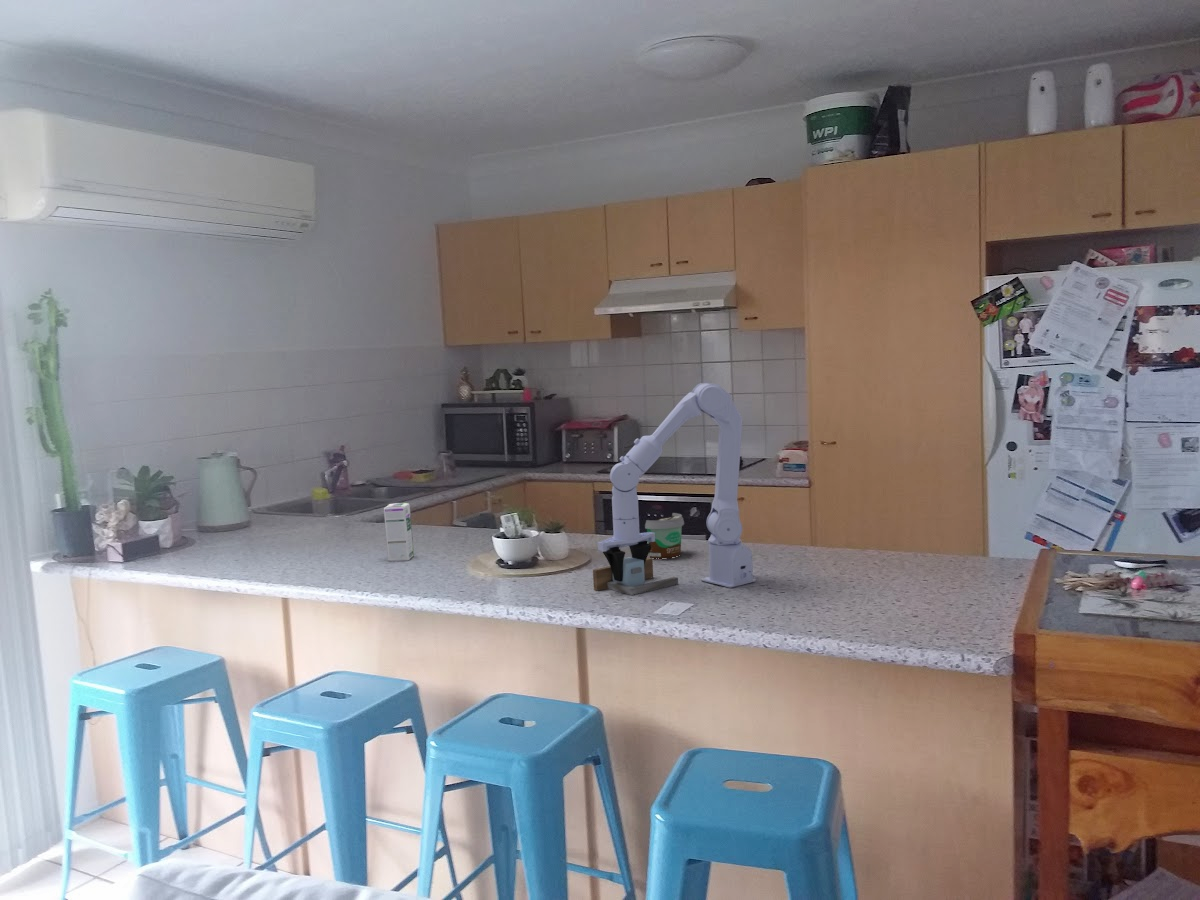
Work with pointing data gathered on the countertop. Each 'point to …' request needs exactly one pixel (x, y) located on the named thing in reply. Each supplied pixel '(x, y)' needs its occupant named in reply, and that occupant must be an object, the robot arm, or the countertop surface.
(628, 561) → the cabinet block
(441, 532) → the countertop surface
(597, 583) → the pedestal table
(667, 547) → the food container
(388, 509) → the syrup box
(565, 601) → the countertop surface
